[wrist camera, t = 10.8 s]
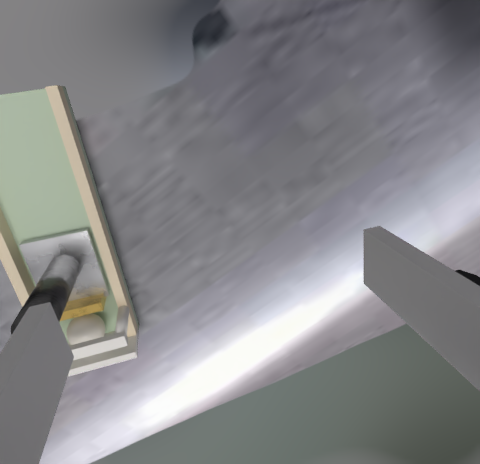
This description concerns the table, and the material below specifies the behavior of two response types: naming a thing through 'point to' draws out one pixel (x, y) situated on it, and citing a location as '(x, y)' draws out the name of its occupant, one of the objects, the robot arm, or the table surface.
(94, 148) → the table surface
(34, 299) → the rod
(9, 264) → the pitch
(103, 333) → the ball
